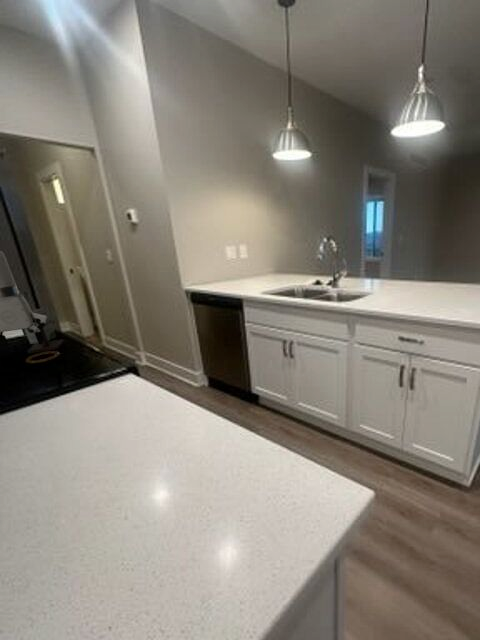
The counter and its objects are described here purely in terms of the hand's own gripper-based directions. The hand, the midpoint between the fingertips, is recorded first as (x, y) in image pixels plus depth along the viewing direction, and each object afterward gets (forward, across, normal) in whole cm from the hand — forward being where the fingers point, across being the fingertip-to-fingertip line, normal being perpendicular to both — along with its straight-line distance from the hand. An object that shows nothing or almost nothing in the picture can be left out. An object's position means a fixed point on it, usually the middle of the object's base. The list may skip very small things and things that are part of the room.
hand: (24, 345), depth 111 cm
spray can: (+5, -9, +36) cm, 38 cm away
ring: (+5, +4, 0) cm, 6 cm away
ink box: (+6, -2, +24) cm, 25 cm away
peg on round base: (+5, +2, +12) cm, 13 cm away
